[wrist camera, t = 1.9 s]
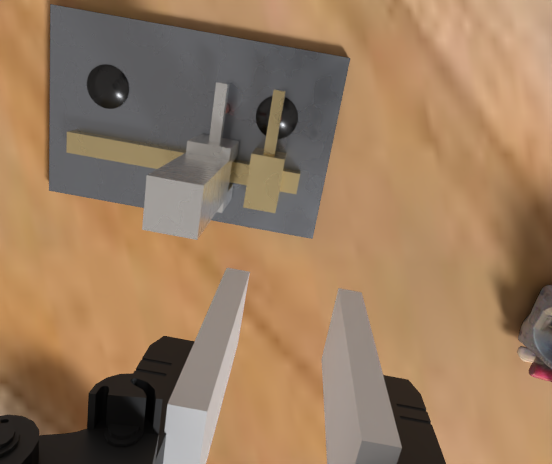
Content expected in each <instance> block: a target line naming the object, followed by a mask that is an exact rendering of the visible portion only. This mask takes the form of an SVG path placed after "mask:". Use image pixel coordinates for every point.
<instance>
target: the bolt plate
mask: <svg viewBox="0 0 552 464" xmlns="http://www.w3.org/2000/svg"><path fill="white" fill-rule="evenodd" d="M349 62H350V58H347V57H341V56H336V55H330V54H325V53H319V52H313V51H308V50H302V49H297V48H291V47H286V46H280V45H274V44H269V43H263V42H258V41H252V40H247V39H241V38H236V37H230V36H224V35H219V34H213V33H208V32H202V31H197V30H191V29H185V28H180V27H174V26H169V25H163V24H158V23H152V22H146V21H141V20H135V19H130V18H124V17H119V16H113V15H108V14H102V13H96V12H91V11H85V10H80V9H74V8H69V7H63V6H57V5H52V4H50V140H49V191H55V192H60V193H65V194H71V195H76V196H82V197H87V198H93V199H98V200H104V201H109V202H115V203H120V204H126V205H131V206H136V207H142V208H144V202H145V189H146V176H147V175H148V174H150V173H151V172H153V171H155V170H157V169H154V168H149V167H143V166H138V165H132V164H127V163H121V162H116V161H110V160H105V159H99V158H94V157H88V156H83V155H77V154H72V153H66V150H67V132H68V131H73V130H77V131H82V132H88V133H93V134H99V135H104V136H110V137H115V138H121V139H126V140H132V141H137V142H143V143H148V144H154V145H159V146H165V147H170V148H176V149H181V150H186V149H187V141H188V140H190V139H192V138H194V137H196V136H198V135H200V134H204V135H210V129H211V120H212V112H213V104H214V95H215V87H216V82H219V83H225V84H229V91H228V99H227V104H228V105H229V112H228V113H226V114H225V122H224V130H223V137H222V138H226V139H232V140H237V141H240V143H239V150H238V157H237V158H236V160H242V161H247V162H250V159H251V153H252V152H253V151H254V150H255V148H262V149H264V147H265V141H266V134H267V128H268V122H269V116H270V110H271V103H272V97H273V91H274V90H280V91H286V93H285V99H284V104H283V110H282V120H281V122H280V128H279V134H278V140H277V146H276V151H278V152H284V153H287V154H286V160H285V166H284V168H286V169H291V170H297V171H300V178H299V183H298V188H297V193H296V194H291V193H286V192H280V194H279V199H278V204H277V208H276V212H275V213H271V212H265V211H260V210H254V209H249V208H243V205H244V199H245V192H246V185H242V184H236V183H232V184H234V185H233V192H232V199H231V200H230V202H229V203H228V205H227V206H226V208H225V209H224V211H223V212H222V213H219V212H216V214H215V215H214V217H213V218H212V219H211V220H213V221H218V222H224V223H229V224H235V225H240V226H246V227H251V228H256V229H262V230H267V231H273V232H278V233H284V234H289V235H295V236H300V237H306V238H311V239H312V238H313V234H314V229H315V224H316V219H317V215H318V210H319V205H320V200H321V195H322V191H323V186H324V181H325V176H326V172H327V167H328V162H329V157H330V152H331V148H332V143H333V138H334V133H335V129H336V124H337V119H338V114H339V109H340V105H341V100H342V95H343V90H344V86H345V81H346V76H347V71H348V66H349ZM229 183H231V182H229Z"/></svg>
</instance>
